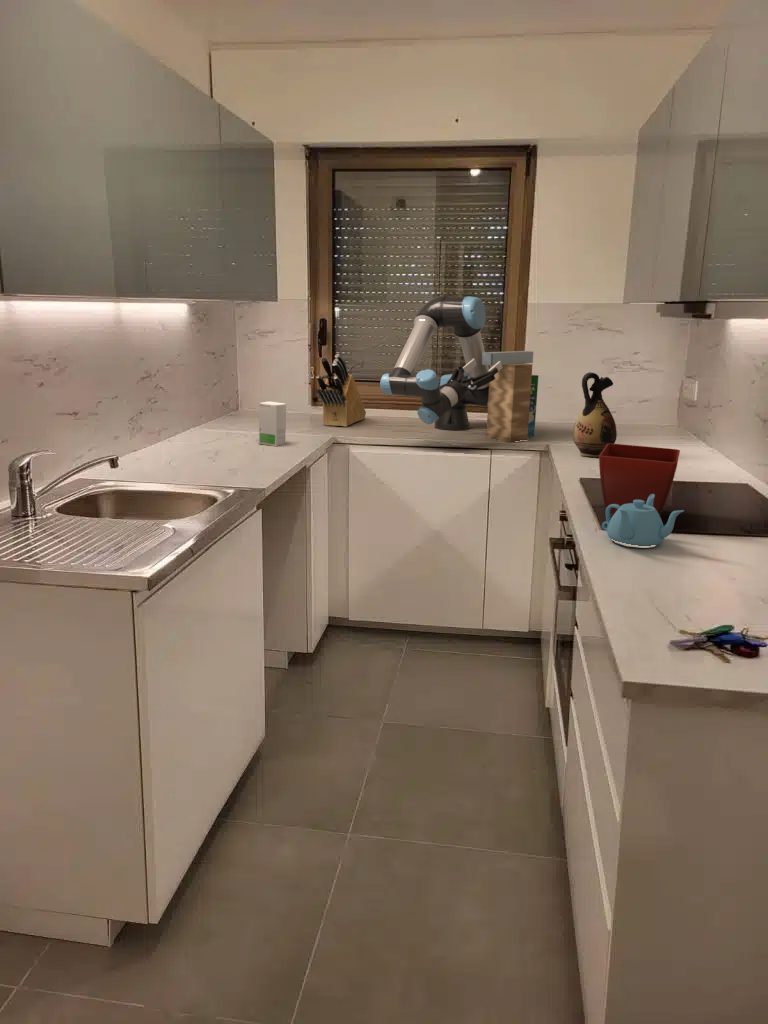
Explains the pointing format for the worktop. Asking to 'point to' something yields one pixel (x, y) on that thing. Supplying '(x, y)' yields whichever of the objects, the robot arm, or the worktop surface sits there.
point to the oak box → (509, 403)
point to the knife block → (339, 395)
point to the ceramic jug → (594, 419)
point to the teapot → (638, 523)
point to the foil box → (507, 357)
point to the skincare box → (272, 423)
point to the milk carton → (533, 405)
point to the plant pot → (636, 474)
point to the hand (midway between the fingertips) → (487, 362)
